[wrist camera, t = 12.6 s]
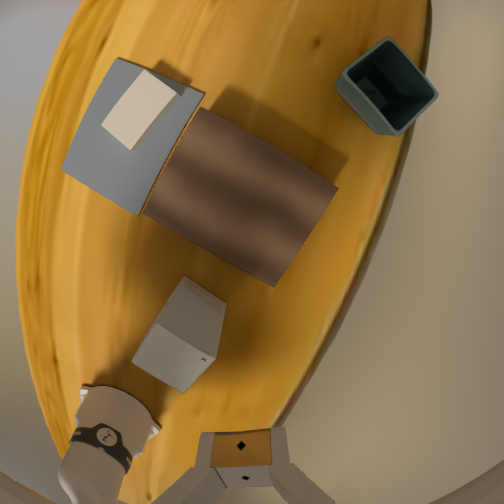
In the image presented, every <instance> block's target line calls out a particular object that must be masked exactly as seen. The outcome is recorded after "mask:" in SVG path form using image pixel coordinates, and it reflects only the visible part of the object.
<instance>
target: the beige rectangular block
mask: <svg viewBox="0 0 504 504" xmlns="http://www.w3.org/2000/svg"><path fill="white" fill-rule="evenodd" d="M180 97H181V96H180V95H179V94H178V93H176V92H175V91H174V90H172V89H171V88H170V87H168V86H167V85H166V84H164V83H163V82H161V81H160V80H159V79H157V78H156V77H154V76H153V75H152V74H150V73H149V72H147V71H146V70H143V71H142V73H141V74H140V75H139V76H138V77H137V78H136V80H135V81H134V82H133V83H132V84H131V86H130V87H129V88H128V89H127V91H126V92H125V93H124V94H123V96H122V97H121V98H120V99H119V101H118V102H117V103H116V105H115V106H114V107H113V109H112V110H111V111H110V113H109V114H108V115H107V117H106V118H105V120H104V121H103V123H102V124H101V126H103V127H104V128H105V129H106V130H107V131H108V132H110V133H111V134H112V135H113V136H114V137H115V138H117V139H118V140H119V141H120V142H121V143H122V144H124V145H125V146H126V147H127V148H128V149H129V150H132V151H137V150H138V148H139V147H140V146H141V144H142V143H143V142H144V140H145V139H146V138H147V137H148V135H149V134H150V133H151V131H152V130H153V129H154V128H155V126H156V125H157V124H158V123H159V122H160V120H161V119H162V118H163V117H164V116H165V114H166V113H167V112H168V111H169V110H170V108H171V107H172V106H173V105H174V104H175V103H176V102H177V100H178V99H179V98H180Z"/></svg>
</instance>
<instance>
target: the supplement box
mask: <svg viewBox="0 0 504 504" xmlns="http://www.w3.org/2000/svg"><path fill="white" fill-rule="evenodd" d="M226 306H227V304H226V303H225V302H223V301H222V300H220V299H219V298H217V297H216V296H214V295H213V294H211V293H210V292H208V291H207V290H205V289H204V288H202V287H201V286H199V285H198V284H196V283H195V282H193V281H192V280H191V279H189V278H188V277H186V276H184V277H183V278H182V280H181V281H180V283H179V284H178V286H177V287H176V288H175V290H174V291H173V293H172V294H171V296H170V297H169V299H168V300H167V302H166V303H165V305H164V306H163V308H162V309H161V311H160V312H159V314H158V316H157V317H156V319H155V321H154V322H153V324H152V325H151V327H150V329H149V330H148V332H147V334H146V336H145V337H144V339H143V341H142V342H141V344H140V346H139V348H138V349H137V351H136V353H135V355H134V357H133V359H132V361H131V362H132V363H133V364H135V365H136V366H138V367H140V368H141V369H143V370H144V371H146V372H148V373H149V374H151V375H152V376H154V377H156V378H157V379H159V380H161V381H163V382H164V383H166V384H168V385H170V386H171V387H173V388H175V389H176V390H178V391H180V392H182V393H184V392H186V391H187V390H188V388H189V387H190V386H191V385H192V384H193V383H194V382H195V381H196V380H197V379H198V378H199V377H200V376H201V375H202V373H203V372H204V371H205V370H206V369H207V368H208V367H209V366H210V365H211V364H212V363H213V362H214V361H215V360H216V357H217V352H218V347H219V342H220V336H221V331H222V326H223V321H224V316H225V311H226Z"/></svg>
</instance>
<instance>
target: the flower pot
mask: <svg viewBox="0 0 504 504" xmlns="http://www.w3.org/2000/svg"><path fill="white" fill-rule="evenodd" d="M336 91H337V92H338V94H339V95H340V96H341V97H342V98H343V99H344V100H345V101H346V102H347V103H348V104H349V105H350V107H351V108H352V109H353V110H354V111H355V112H356V113H357V114H358V115H359V116H360V118H361V119H362V120H363V121H364V122H365V123H366V125H367V126H368V127H369V128H370V129H371V130H372V131H374V132H375V133H377V134H381V135H390V136H400V135H401V134H402V133H403V132H404V131H405V130H406V129H407V128H408V127H409V126H410V125H411V124H412V123H413V122H414V121H415V120H416V119H417V118H418V117H419V116H420V114H421V113H423V112H424V111H425V110H426V108H428V107H429V106H430V105H431V104H432V103H433V102H434V101H435V100H436V99H437V97H438V92H437V91H436V89H435V88H434V87H433V85H432V84H431V83H430V82H429V80H428V79H427V78H426V77H425V75H424V74H423V73H422V72H421V71H420V69H419V68H418V67H417V66H416V65H415V64H414V62H413V61H412V60H411V59H410V58H409V57H408V56H407V54H406V53H405V52H404V51H403V50H402V49H401V48H400V47H399V46H398V44H397V43H396V42H395V41H394V40H393V39H391V38H390V37H385V38H384V39H382V40H381V41H380V42H378V43H377V44H376V45H375V46H373V47H372V48H371V49H370V50H368V51H367V52H366V53H364V54H363V55H362V56H360V57H359V58H358V59H357V60H355V61H354V62H353V63H351V64H350V65H349V66H347V67H346V68H345V69H344V70H343V71H342V72H341V74H340V76H339V78H338V80H337V82H336ZM372 91H375V94H373V93H372Z"/></svg>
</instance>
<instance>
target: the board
mask: <svg viewBox="0 0 504 504" xmlns="http://www.w3.org/2000/svg"><path fill="white" fill-rule="evenodd" d="M338 189H339V188H338V187H336V186H335V185H333V184H332V183H330V182H329V181H327V180H326V179H324V178H323V177H321V176H320V175H318V174H317V173H315V172H314V171H312V170H311V169H309V168H308V167H306V166H305V165H303V164H302V163H300V162H298V161H297V160H295V159H294V158H292V157H290V156H289V155H287V154H286V153H284V152H282V151H281V150H279V149H277V148H276V147H274V146H272V145H271V144H269V143H267V142H265V141H264V140H262V139H260V138H259V137H257V136H255V135H253V134H252V133H250V132H248V131H246V130H244V129H243V128H241V127H239V126H237V125H235V124H233V123H232V122H230V121H228V120H226V119H224V118H222V117H220V116H218V115H216V114H214V113H212V112H210V111H208V110H207V109H205V108H202V107H200V108H199V110H198V111H197V113H196V115H195V116H194V118H193V120H192V121H191V123H190V125H189V126H188V128H187V130H186V131H185V133H184V135H183V137H182V138H181V140H180V142H179V144H178V145H177V147H176V149H175V151H174V153H173V154H172V156H171V158H170V160H169V162H168V164H167V166H166V167H165V169H164V171H163V173H162V175H161V177H160V179H159V181H158V183H157V185H156V187H155V189H154V191H153V193H152V195H151V197H150V199H149V201H148V203H147V206H146V208H145V210H144V212H143V214H145V215H146V216H148V217H150V218H151V219H153V220H155V221H157V222H158V223H160V224H162V225H163V226H165V227H167V228H169V229H170V230H172V231H174V232H176V233H177V234H179V235H181V236H183V237H184V238H186V239H188V240H190V241H191V242H193V243H195V244H197V245H198V246H200V247H202V248H204V249H205V250H207V251H209V252H211V253H212V254H214V255H216V256H218V257H219V258H221V259H223V260H225V261H227V262H228V263H230V264H232V265H234V266H236V267H237V268H239V269H241V270H243V271H245V272H246V273H248V274H250V275H252V276H254V277H255V278H257V279H259V280H261V281H263V282H264V283H266V284H268V285H270V286H272V287H275V285H276V284H277V282H278V281H279V280H280V278H281V277H282V275H283V274H284V272H285V271H286V269H287V268H288V266H289V265H290V263H291V262H292V260H293V259H294V257H295V256H296V254H297V253H298V251H299V250H300V248H301V247H302V245H303V243H304V242H305V240H306V239H307V237H308V236H309V234H310V233H311V231H312V230H313V228H314V227H315V225H316V223H317V222H318V220H319V219H320V217H321V216H322V214H323V213H324V211H325V209H326V208H327V206H328V205H329V203H330V201H331V200H332V198H333V197H334V195H335V193H336V192H337V190H338Z"/></svg>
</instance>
